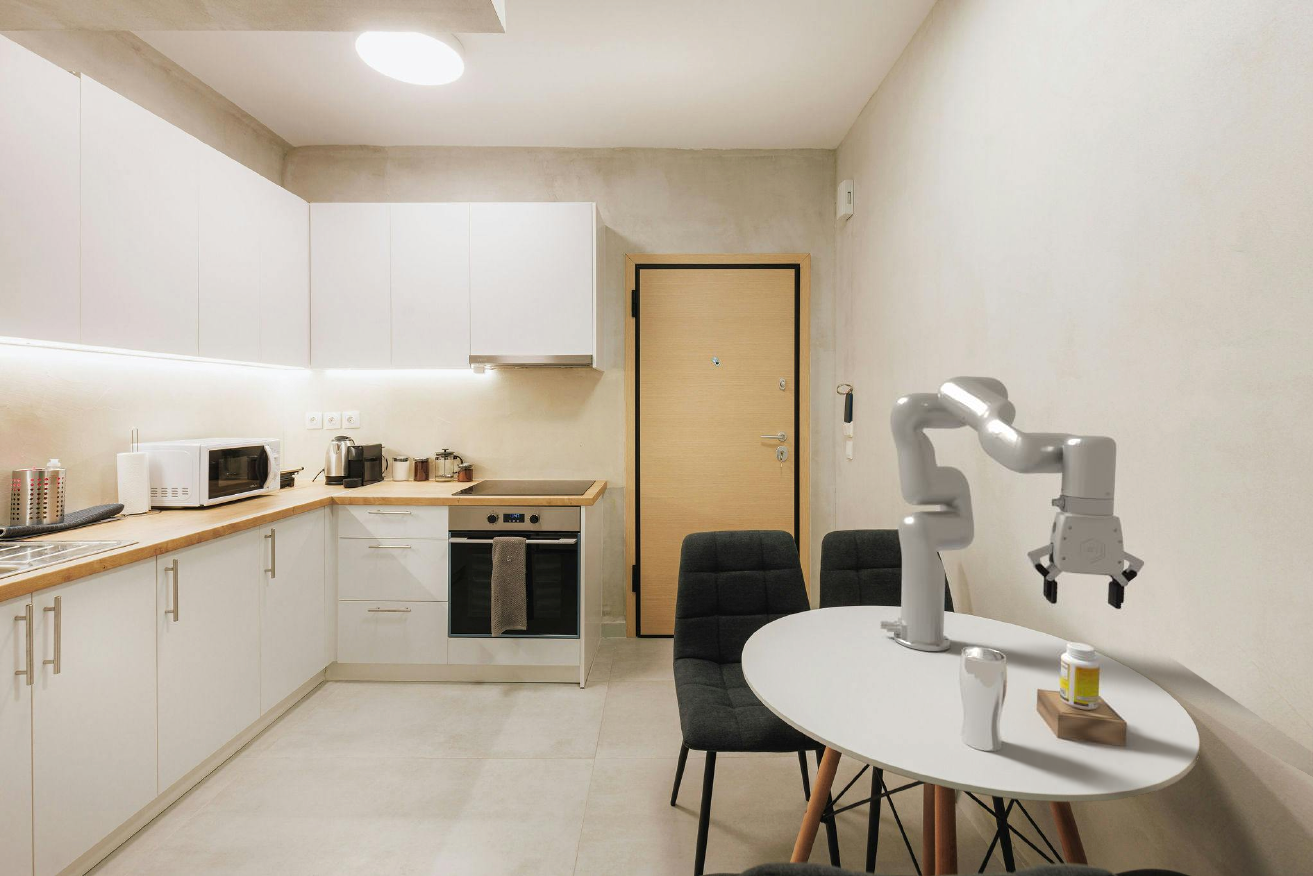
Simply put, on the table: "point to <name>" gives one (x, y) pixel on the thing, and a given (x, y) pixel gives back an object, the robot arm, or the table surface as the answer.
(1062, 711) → the base
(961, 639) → the table surface
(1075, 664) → the supplement bottle
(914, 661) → the table surface
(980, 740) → the beer glass
